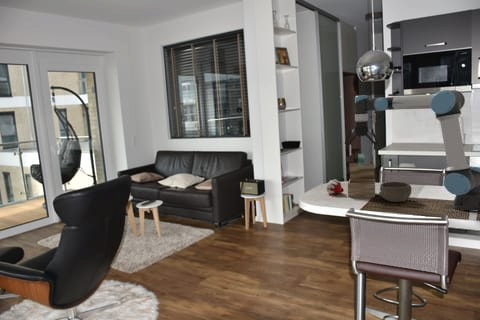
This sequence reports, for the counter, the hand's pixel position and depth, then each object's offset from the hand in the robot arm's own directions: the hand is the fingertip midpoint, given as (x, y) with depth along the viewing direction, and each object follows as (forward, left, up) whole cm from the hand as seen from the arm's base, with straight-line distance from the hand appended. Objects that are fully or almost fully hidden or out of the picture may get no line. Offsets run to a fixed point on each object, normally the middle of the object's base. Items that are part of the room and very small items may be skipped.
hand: (361, 155), depth 244 cm
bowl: (-5, -20, -27) cm, 34 cm away
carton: (+6, 0, -27) cm, 27 cm away
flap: (+5, 0, -10) cm, 11 cm away
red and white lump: (+6, +17, -27) cm, 33 cm away
